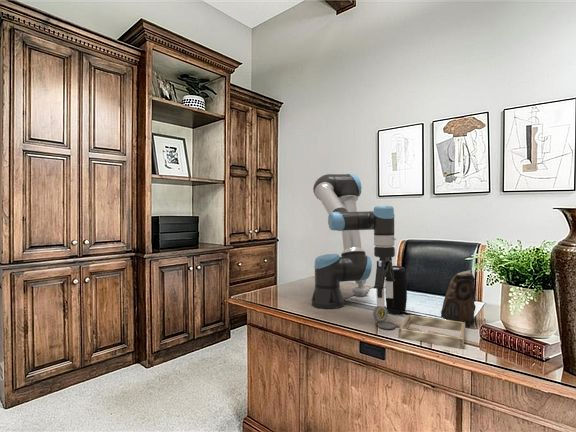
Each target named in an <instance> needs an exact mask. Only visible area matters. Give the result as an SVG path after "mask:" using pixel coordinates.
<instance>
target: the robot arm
mask: <svg viewBox="0 0 576 432" xmlns="http://www.w3.org/2000/svg"><path fill="white" fill-rule="evenodd" d="M312 189H313V194H314V196H315V198H316V199H317V200H319V201H320V202H321V205H323V207H324V209H325V210H326V213H327V214H328V216H327V217H328V218H327V224H328V228H329V230H331V231H338V232H341V236H342V238H341V239H342V245H343V246H342V247H343V251H342V252H341V253H340V255H339V254H338V253H327V254H322V255H318V256H317V257H316V258H315V259H314V267H313V268H314V289H313V290H314V291H313V292H312V296H311V305H312V306H313V307H314V308H317V309H324V310H325V309H330V310H331V309H339V308H342V307H344V296H343V294H342V291H341V289H340V287H341V286H340V283H342V282H355V281H361V280H366V281H367V280H368V279H369V278H370V276H371V274H372V268H373V267H372V265H373V264H372V260H371V257H370V256H369V255H366V250H365V249H363V248H362V241H361V233H360V231H371V230H372V231H373V245H374V248H373V253H374V257H376V258H379V259H378V260H377V261H376V271H375V280H374V285H373V288H374V289H376V306H381V307H386V298H393V282H392V281H395V279H394V273H393V266H394V265H393V257H395V256H396V248H395V247H394V246H395V241H396V240H397V238H396V237H395V210H394V207H393V206H392V205H380V206H379V205H375V206H374V207H373V210H370V211H358V209H357V201H358V199H359V197H360V196H361V194H362V182H361V179H360V178H359V176H357V175H356V174H350V173H346V174H344V173H343V174H342V173H341V174H339V173H335V174H334V173H327V174H323V175H321V176H320V177H318V178H317V179H316V180H315V182H314V185H313V188H312ZM385 279H386V297H385Z"/></svg>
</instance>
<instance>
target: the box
mask: <svg viewBox="0 0 576 432" xmlns="http://www.w3.org/2000/svg"><path fill="white" fill-rule="evenodd" d="M411 324H414V325H419V326H427V327H432V328H440V329H445V330H446V329H447V330H453V331H460V334H459V337H458V336H450V335H445V334H444V335H443V334H439V333H433V332H426V331H419V330H413V329H408V328H409V327H410V325H411ZM465 337H466V326H465V322H458V321H451V320H445V319H444V318H435V317H427V316H422V315H421V316H419V315H415V314H414V315H413V314H407V315H406V317H405V318H404V320H403V322H402V323H401V325H400V326H399V328H398V338H400V339H404V340H409V339H411V340H410V341H415V340H417V341H416V342H421V341H423V343H427V342H428V343H427V344H434V345H438V346H446V347H449V348H450V347H452V348H456V349H463V350H464V347H465V346H464V345H465Z"/></svg>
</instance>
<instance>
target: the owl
mask: <svg viewBox="0 0 576 432" xmlns="http://www.w3.org/2000/svg"><path fill="white" fill-rule="evenodd" d="M475 281H476V278H475V277H474V274H473V270H472V269H469V270H465V271H461V272H457V273H456V274H455V275H454V276H453V277H452V278H451V280H450V282H449V285H448V288H447V289H446V290H447V291H446V293H445V296H444V300H443V302H442V307H441V310H440V317H441V318H442V317H443V318H442V319H444V320H445V319H446V320H451V321H458V322H465V327H469V326H470V325H473V323H475V321H474V320H475V311H476V307H477V306H476V304H475V301H476V290H475Z"/></svg>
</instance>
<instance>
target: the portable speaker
mask: <svg viewBox="0 0 576 432" xmlns="http://www.w3.org/2000/svg"><path fill="white" fill-rule="evenodd" d="M392 266H393V273H394V279H395V281H392V282H393V298H386V278H385V282H384V294H385V307H386V308H387V310H388V314H392V315H399V314H400V313H404V314H405V313H406V310H407V303H408V302H407V299H408V296H407V295H408V285H407V284H408V281H407V272H406V267H403V266H401V265H392Z"/></svg>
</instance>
